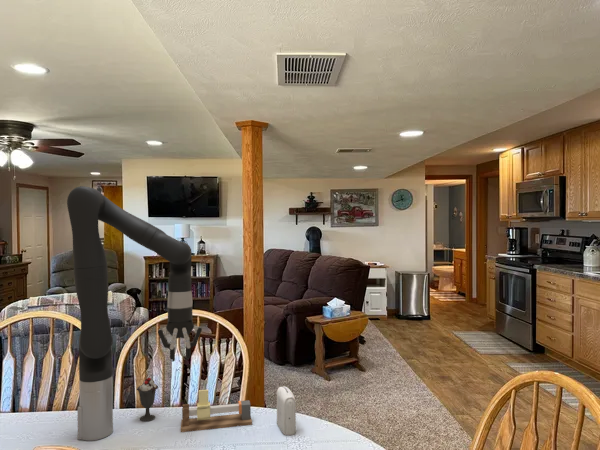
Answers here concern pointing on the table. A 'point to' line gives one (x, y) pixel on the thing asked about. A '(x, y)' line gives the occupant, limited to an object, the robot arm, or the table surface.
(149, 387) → the sundae
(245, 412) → the sliding door bolt
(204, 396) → the marker sleeve
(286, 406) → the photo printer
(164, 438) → the table surface
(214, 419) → the wooden bracket
